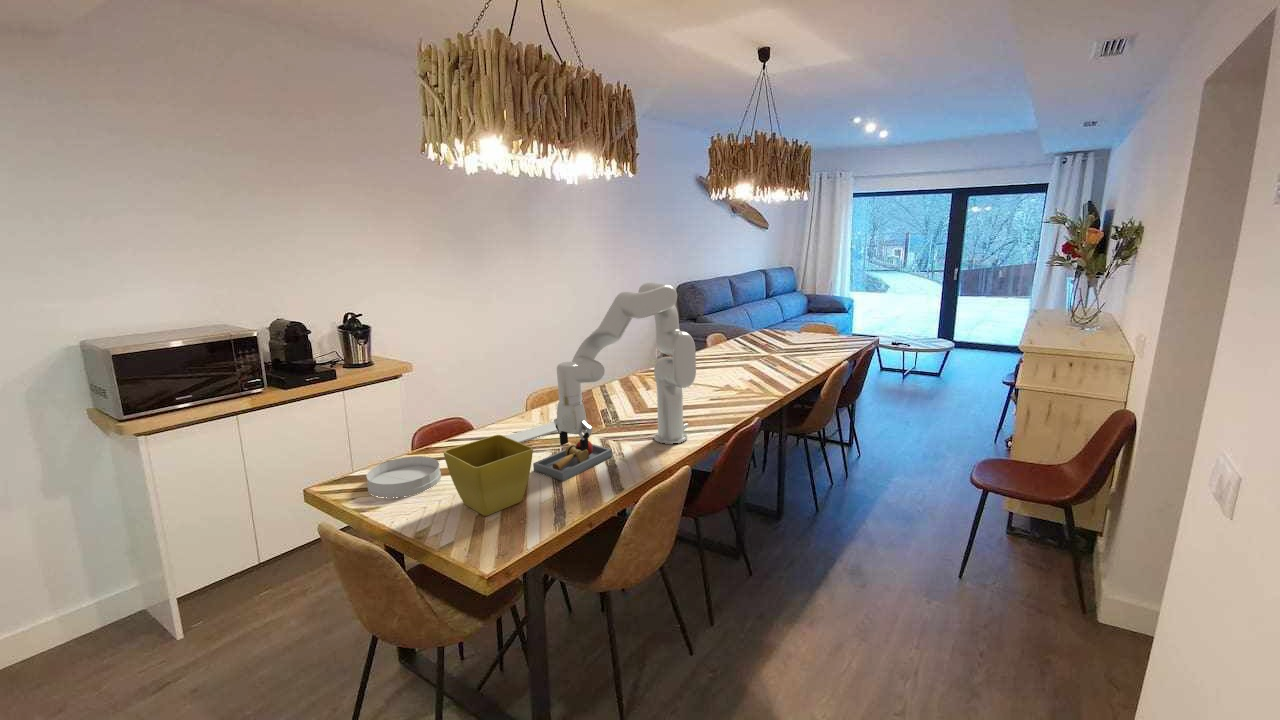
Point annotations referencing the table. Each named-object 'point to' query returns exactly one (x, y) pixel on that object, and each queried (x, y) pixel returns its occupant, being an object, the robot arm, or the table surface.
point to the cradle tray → (571, 463)
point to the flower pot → (490, 472)
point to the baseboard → (533, 432)
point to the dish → (403, 477)
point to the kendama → (574, 455)
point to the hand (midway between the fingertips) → (574, 446)
